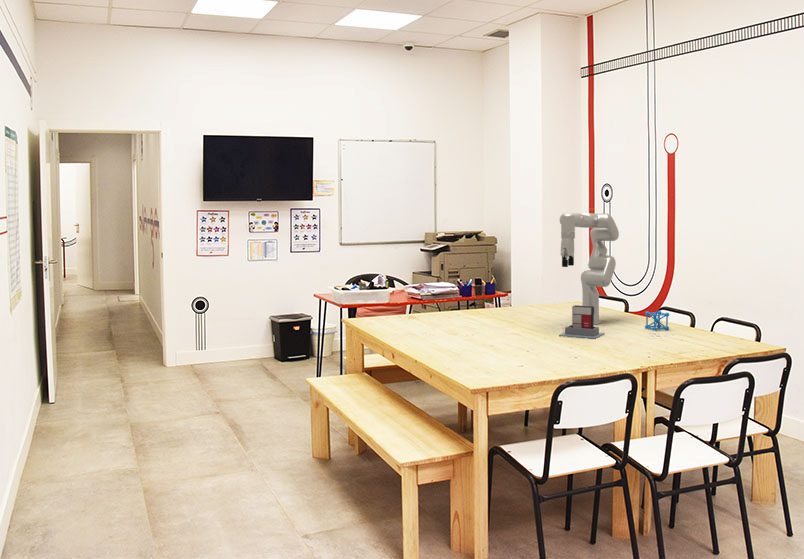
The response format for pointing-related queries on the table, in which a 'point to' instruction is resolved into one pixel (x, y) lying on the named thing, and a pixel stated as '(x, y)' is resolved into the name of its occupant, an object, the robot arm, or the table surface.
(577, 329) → the desk holder
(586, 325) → the multicoloured piece
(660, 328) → the molecular structure
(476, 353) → the table surface
